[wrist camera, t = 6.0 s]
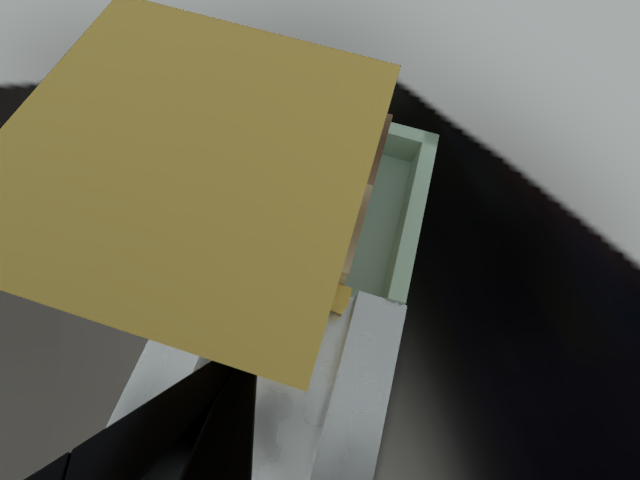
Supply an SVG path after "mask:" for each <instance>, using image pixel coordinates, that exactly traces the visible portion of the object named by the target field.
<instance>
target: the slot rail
mask: <svg viewBox="0 0 640 480" xmlns="http://www.w3.org/2000/svg"><path fill="white" fill-rule="evenodd" d="M406 310H407V305H405V304H401V303H398V302H395V301H392V300H388V299H385V298H382V297H378V296H375V295H372V294H369V293H365V292H362V291H358V293H357V294H356V296H355V297H354V298H353V297H350V300H349V304H348V307H347V308H346V310H345V311H344V313H343V314H339V313H336V312H332V311H330V314H329V317H328V321H327V324H326V328H325V331H324V335H323V338H322V342H321V345H320V349H319V352H318V355H317V359H316V362H315V366H314V369H313V373H312V376H311V380H310V383H309V387H308V390H307V392H306V391H303V390H300V389H297V388H294V387H291V386H288V385H285V384H282V383H279V382H276V381H273V380H270V379H267V378H264V377H261V376H258V375H257V390H256V408H255V426H254V445H253V463H252V480H373V478H374V473H375V467H376V462H377V457H378V452H379V447H380V442H381V437H382V432H383V427H384V422H385V417H386V412H387V406H388V401H389V396H390V391H391V386H392V381H393V376H394V371H395V366H396V361H397V356H398V351H399V345H400V340H401V335H402V330H403V325H404V320H405V315H406ZM210 361H211V360H209V359H206V358H203V357H200V356H197V355H194V354H191V353H188V352H185V351H182V350H179V349H176V348H173V347H170V346H167V345H164V344H161V343H158V342H155V341H152V340H148V342H147V344H146V346H145V348H144V350H143V352H142V354H141V356H140V359H139V361H138V363H137V365H136V367H135V369H134V371H133V373H132V375H131V377H130V379H129V381H128V383H127V385H126V387H125V389H124V391H123V393H122V395H121V397H120V399H119V401H118V404H117V406H116V408H115V410H114V412H113V414H112V416H111V418H110V420H109V422H108V424H107V426H106V428H107V427H108V426H110V425H111V424H113V423H115V422H116V421H118V420H119V419H121V418H122V417H124V416H125V415H127V414H129V413H130V412H132V411H133V410H135V409H136V408H138V407H140V406H141V405H143V404H144V403H146V402H147V401H149V400H150V399H152V398H154V397H155V396H157V395H158V394H160V393H161V392H163V391H165V390H166V389H168V388H169V387H171V386H172V385H174V384H176V383H177V382H179V381H180V380H182V379H183V378H185V377H186V376H188V375H190V374H191V373H193V372H194V371H196V370H197V369H199V368H201V367H202V366H204V365H205V364H207V363H208V362H210Z"/></svg>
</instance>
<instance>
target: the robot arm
mask: <svg viewBox="0 0 640 480" xmlns="http://www.w3.org/2000/svg"><path fill="white" fill-rule="evenodd" d="M256 390H257V375H255V374H252V373H249V372H246V371H243V370H240V369H237V368H233V367H230V366H227V365H224V364H221V363H218V362H215V361H212V360H211V361H210V362H208V363H207V364H205V365H204V366H202V367H201V368H199V369H197V370H196V371H194V372H193V373H191V374H190V375H188V376H186V377H185V378H183V379H182V380H180V381H179V382H177V383H176V384H174V385H172V386H171V387H169V388H168V389H166V390H165V391H163V392H161V393H160V394H158V395H157V396H155V397H154V398H152V399H150V400H149V401H147V402H146V403H144V404H143V405H141V406H140V407H138V408H136V409H135V410H133V411H132V412H130V413H129V414H127V415H125V416H124V417H122V418H121V419H119V420H118V421H116V422H115V423H113V424H111V425H110V426H108V427H107V428H105V429H104V430H102V431H100V432H99V433H97V434H96V435H94V436H93V437H91V438H89V439H88V440H86V441H85V442H83V443H82V444H80V445H79V446H77V447H75V448H74V449H73V450H72V452H71V453H70V452H67V453H66V454H64V455H63V456H61V457H59V458H58V459H56V460H55V461H53V462H52V463H50V464H48V465H47V466H45V467H44V468H42V469H41V470H39V471H37V472H36V473H34V474H32V475H31V476H29V477H27V478H26V479H24V480H252V463H253V445H254V426H255V408H256Z"/></svg>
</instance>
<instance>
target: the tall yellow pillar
mask: <svg viewBox="0 0 640 480" xmlns="http://www.w3.org/2000/svg"><path fill="white" fill-rule="evenodd" d="M400 67H401V65H397V64H393V63H389V62H385V61H381V60H377V59H373V58H369V57H365V56H362V55H358V54H354V53H350V52H346V51H342V50H338V49H334V48H330V47H326V46H322V45H318V44H314V43H311V42H307V41H303V40H299V39H295V38H291V37H287V36H283V35H279V34H275V33H271V32H267V31H264V30H260V29H256V28H252V27H248V26H244V25H240V24H236V23H232V22H228V21H224V20H220V19H216V18H213V17H208V16H205V15H201V14H196V13H193V12H189V11H184V10H181V9H177V8H173V7H169V6H165V5H161V4H158V3H153V2H150V1H146V0H112V2H111V3H110V4H109V5H108V6H107V7H106V8H105V10H104V11H103V12H102V13H101V14H100V15H99V16H98V18H97V19H96V20H95V21H94V22H93V23H92V25H91V26H90V27H89V28H88V29H87V30H86V31H85V33H84V34H83V35H82V36H81V37H80V38H79V39H78V41H77V42H76V43H75V44H74V45H73V46H72V47H71V49H70V50H69V51H68V52H67V53H66V54H65V55H64V57H63V58H62V59H61V60H60V61H59V63H58V64H57V65H56V66H55V67H54V68H53V69H52V70H51V71H50V73H49V74H48V75H47V76H46V77H45V78H44V79H43V81H42V82H41V83H40V84H39V85H38V86H37V87H36V89H35V90H34V91H33V92H32V93H31V94H30V95H29V97H28V98H27V99H26V100H25V101H24V102H23V103H22V105H21V106H20V107H19V108H18V109H17V110H16V111H15V113H14V114H13V115H12V116H11V117H10V118H9V119H8V121H7V122H6V123H5V124H4V125H3V126H2V127H1V129H0V290H2V291H5V292H8V293H11V294H14V295H17V296H20V297H23V298H26V299H29V300H32V301H35V302H38V303H41V304H44V305H47V306H50V307H53V308H56V309H59V310H62V311H65V312H68V313H71V314H74V315H77V316H80V317H83V318H86V319H89V320H92V321H95V322H98V323H101V324H104V325H107V326H110V327H113V328H116V329H119V330H122V331H125V332H128V333H131V334H134V335H137V336H140V337H143V338H146V339H149V340H152V341H155V342H158V343H161V344H164V345H167V346H170V347H173V348H176V349H179V350H182V351H185V352H188V353H191V354H194V355H197V356H200V357H203V358H206V359H209V360H212V361H215V362H218V363H221V364H224V365H227V366H230V367H233V368H237V369H240V370H243V371H246V372H249V373H252V374H255V375H258V376H261V377H264V378H267V379H270V380H273V381H276V382H279V383H282V384H285V385H288V386H291V387H294V388H297V389H300V390H303V391H306V392H307V390H308V387H309V383H310V380H311V376H312V373H313V369H314V366H315V362H316V359H317V355H318V352H319V349H320V345H321V342H322V338H323V335H324V331H325V328H326V324H327V321H328V317H329V314H330V311H332V312H336V313H339V314H343V313H344V311H345V310H346V308H347V307H348V304H349V300H350V296H351V292H352V289H353V288H350V287H347V286H344V285H341V284H338V282H339V279H340V276H341V272H342V269H343V265H344V262H345V258H346V255H347V251H348V248H349V244H350V241H351V237H352V234H353V230H354V227H355V223H356V220H357V216H358V213H359V209H360V206H361V203H362V199H363V196H364V192H365V189H366V185H367V182H368V178H369V175H370V171H371V168H372V164H373V161H374V157H375V154H376V150H377V147H378V143H379V140H380V137H381V133H382V130H383V126H384V123H385V119H386V116H387V112H388V109H389V105H390V102H391V98H392V95H393V91H394V88H395V84H396V81H397V77H398V73H399V70H400Z"/></svg>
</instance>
